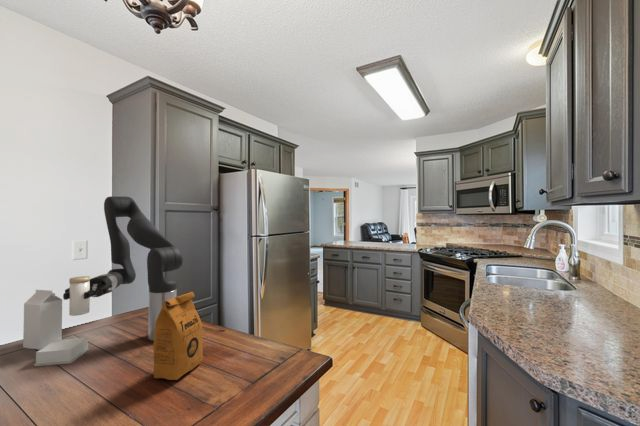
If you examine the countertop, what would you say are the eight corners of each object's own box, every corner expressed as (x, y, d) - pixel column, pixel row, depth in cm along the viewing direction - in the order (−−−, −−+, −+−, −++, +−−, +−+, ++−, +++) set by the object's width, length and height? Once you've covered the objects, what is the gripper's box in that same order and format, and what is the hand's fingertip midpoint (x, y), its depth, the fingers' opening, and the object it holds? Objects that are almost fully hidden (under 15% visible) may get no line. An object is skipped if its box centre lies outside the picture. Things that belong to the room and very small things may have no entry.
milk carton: (39, 350, 98) (40, 293, 98) (22, 348, 99) (23, 292, 99) (61, 341, 105) (62, 288, 105) (46, 339, 106) (47, 287, 106)
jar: (93, 310, 104) (93, 276, 105) (83, 315, 99) (84, 279, 99) (75, 311, 103) (75, 276, 103) (64, 316, 98) (65, 280, 98)
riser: (88, 349, 98) (89, 337, 99) (70, 363, 89) (71, 350, 89) (55, 351, 97) (56, 339, 97) (33, 366, 87) (34, 352, 87)
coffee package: (208, 363, 89) (208, 291, 89) (175, 386, 77) (176, 303, 78) (182, 358, 92) (183, 289, 93) (147, 379, 81) (148, 299, 81)
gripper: (81, 275, 114) (50, 286, 97) (122, 274, 117) (99, 284, 100) (81, 295, 114) (50, 308, 97) (122, 293, 117) (98, 306, 100)
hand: (75, 296), depth 99 cm, fingers closed on jar, 5 cm apart
